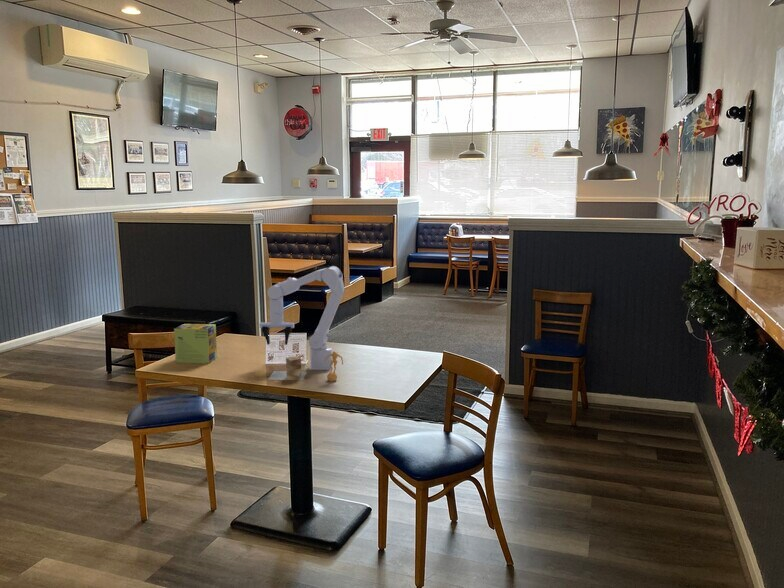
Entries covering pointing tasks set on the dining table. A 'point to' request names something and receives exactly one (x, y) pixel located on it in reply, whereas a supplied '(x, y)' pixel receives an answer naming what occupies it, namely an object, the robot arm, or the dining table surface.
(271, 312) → the robot arm
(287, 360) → the walnut block
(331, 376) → the figurine
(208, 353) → the protein box
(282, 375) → the mat
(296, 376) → the oak block
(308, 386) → the dining table surface
